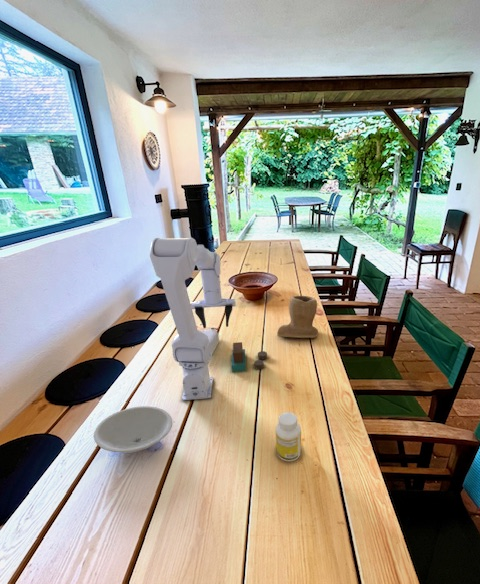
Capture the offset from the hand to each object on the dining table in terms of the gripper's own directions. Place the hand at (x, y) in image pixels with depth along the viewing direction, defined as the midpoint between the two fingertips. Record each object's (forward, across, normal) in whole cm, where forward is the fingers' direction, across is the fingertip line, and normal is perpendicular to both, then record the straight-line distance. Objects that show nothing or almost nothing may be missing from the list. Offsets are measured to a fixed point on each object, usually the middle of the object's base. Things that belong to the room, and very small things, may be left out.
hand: (216, 326), depth 111 cm
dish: (+10, +17, +41) cm, 46 cm away
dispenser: (+7, +5, -5) cm, 10 cm away
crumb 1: (+10, -15, +7) cm, 19 cm away
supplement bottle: (+10, -18, +48) cm, 53 cm away
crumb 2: (+10, -14, +12) cm, 21 cm away
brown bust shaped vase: (+10, -30, -8) cm, 33 cm away
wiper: (+10, -7, +9) cm, 15 cm away
